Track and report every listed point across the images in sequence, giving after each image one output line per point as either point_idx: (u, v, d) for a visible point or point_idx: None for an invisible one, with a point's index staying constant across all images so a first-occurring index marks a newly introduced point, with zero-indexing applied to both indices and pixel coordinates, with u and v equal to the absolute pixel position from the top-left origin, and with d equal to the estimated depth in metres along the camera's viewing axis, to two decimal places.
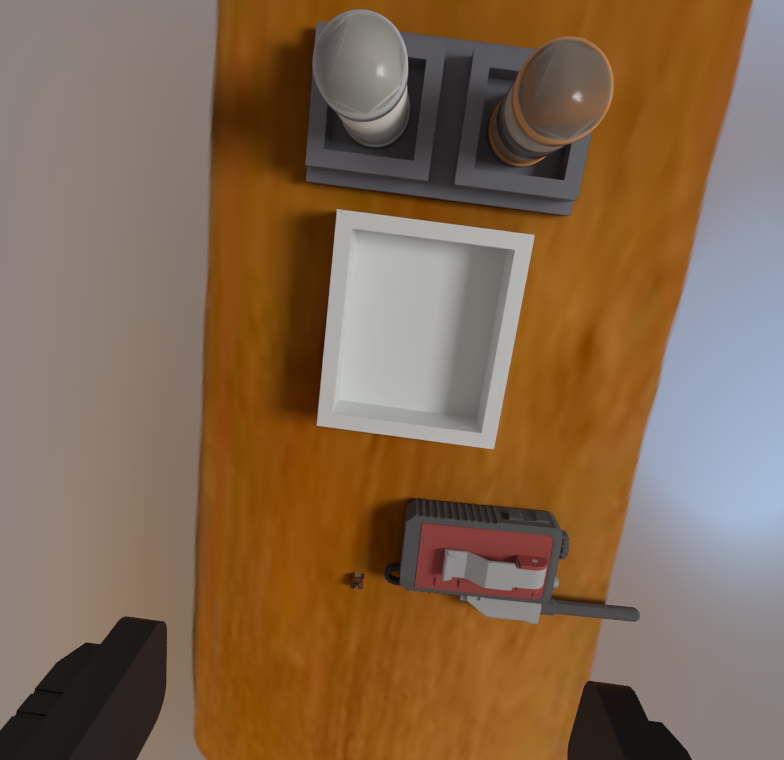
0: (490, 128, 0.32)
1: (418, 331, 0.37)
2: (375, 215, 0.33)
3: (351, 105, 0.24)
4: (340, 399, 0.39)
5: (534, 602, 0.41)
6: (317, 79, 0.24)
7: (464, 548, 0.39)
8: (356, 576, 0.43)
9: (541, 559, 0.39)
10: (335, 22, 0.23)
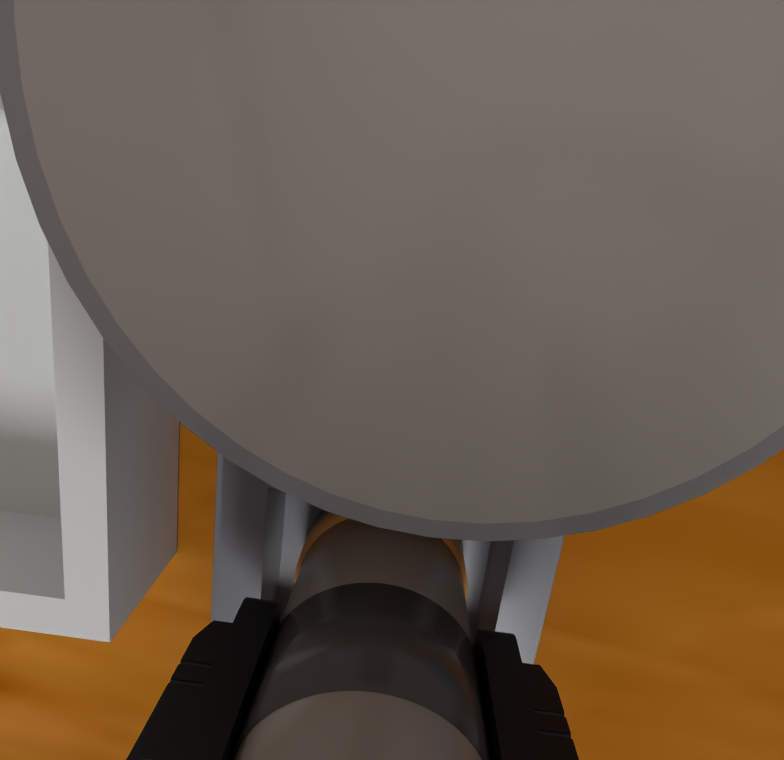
0: None
1: None
2: None
3: None
4: None
5: None
6: None
7: None
8: None
9: None
10: None
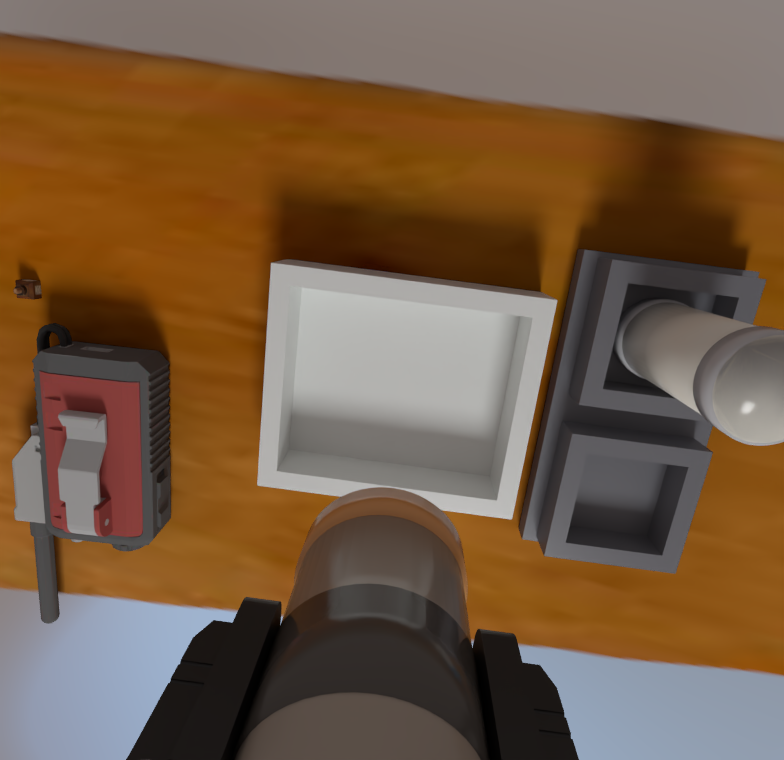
0: (378, 513, 0.13)
1: (395, 381, 0.31)
2: (546, 346, 0.27)
3: (725, 378, 0.19)
4: None
5: (46, 517, 0.32)
6: (762, 336, 0.19)
7: (110, 436, 0.30)
8: (35, 288, 0.30)
9: (109, 527, 0.31)
10: None
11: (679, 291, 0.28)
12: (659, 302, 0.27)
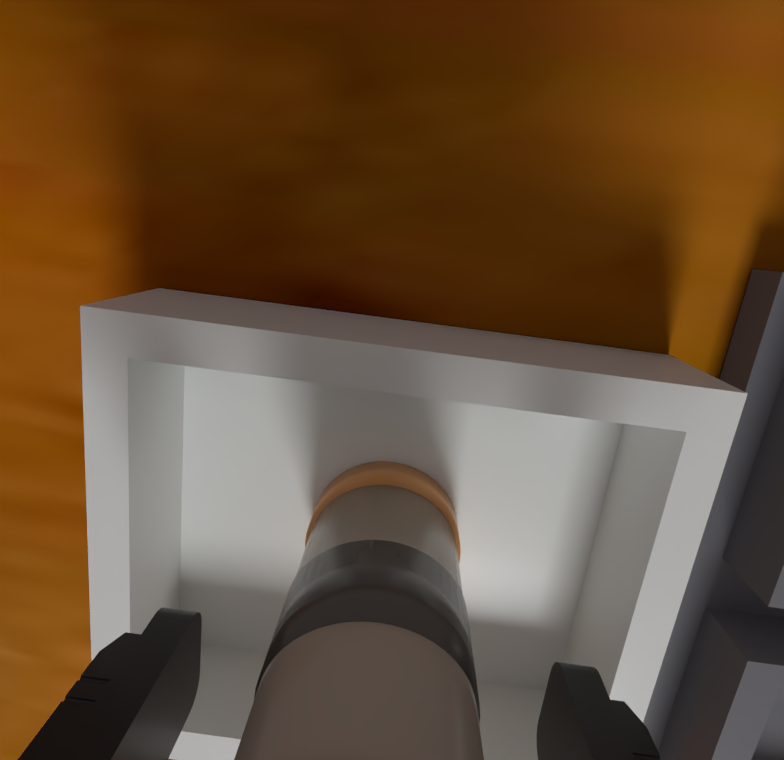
0: (380, 483, 0.14)
1: None
2: (712, 494, 0.12)
3: None
4: None
5: None
6: None
7: None
8: None
9: None
10: None
11: None
12: None
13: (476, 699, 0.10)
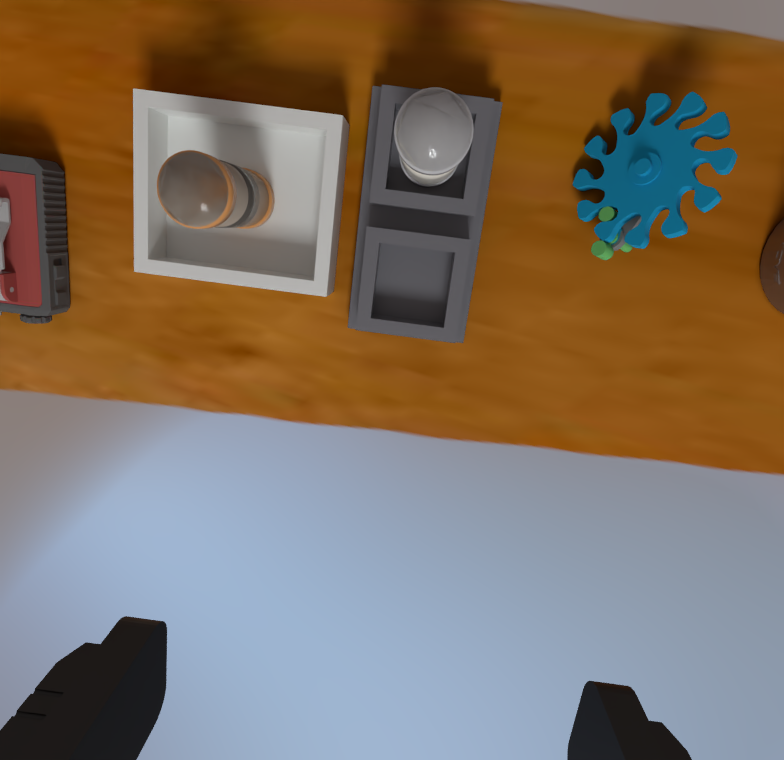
0: None
1: None
2: (338, 153, 0.36)
3: (403, 123, 0.29)
4: (168, 117, 0.39)
5: None
6: (423, 91, 0.28)
7: (13, 219, 0.39)
8: None
9: (14, 295, 0.40)
10: (465, 109, 0.28)
11: None
12: None
13: (247, 186, 0.34)
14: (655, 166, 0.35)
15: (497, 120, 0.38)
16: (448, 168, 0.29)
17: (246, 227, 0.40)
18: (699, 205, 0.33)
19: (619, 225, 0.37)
